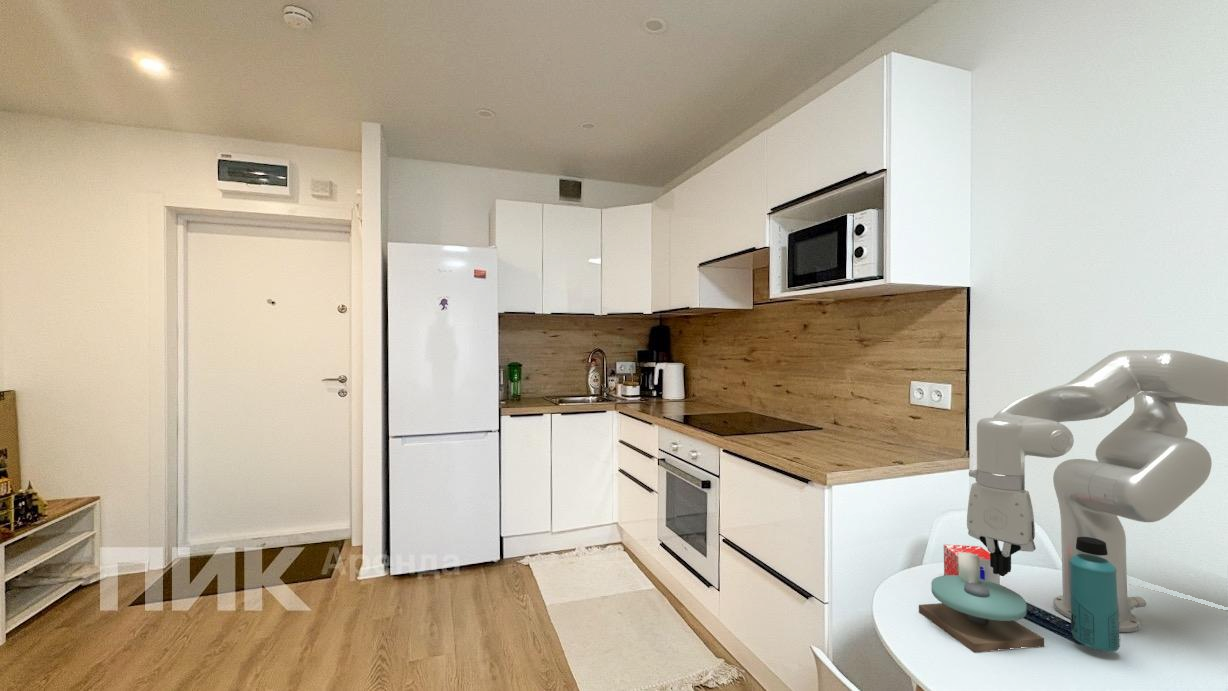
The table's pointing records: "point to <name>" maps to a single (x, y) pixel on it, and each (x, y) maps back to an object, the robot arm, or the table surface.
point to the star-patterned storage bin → (952, 553)
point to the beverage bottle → (1094, 597)
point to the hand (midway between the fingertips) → (1000, 573)
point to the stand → (980, 629)
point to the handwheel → (977, 593)
